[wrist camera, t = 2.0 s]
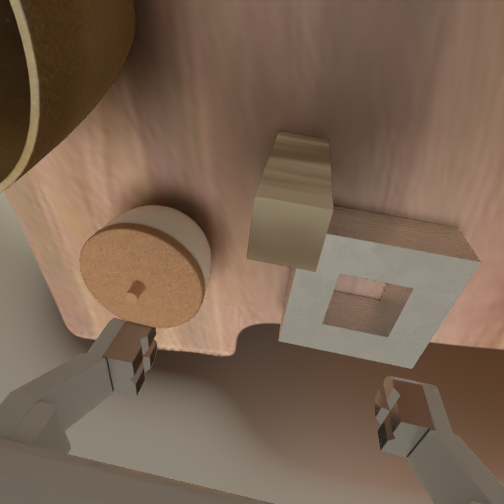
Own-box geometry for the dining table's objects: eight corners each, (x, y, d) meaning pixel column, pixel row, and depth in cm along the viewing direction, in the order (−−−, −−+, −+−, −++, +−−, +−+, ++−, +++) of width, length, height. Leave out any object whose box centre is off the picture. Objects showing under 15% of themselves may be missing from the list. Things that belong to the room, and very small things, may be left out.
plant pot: (-56, -140, 21) (-666, -392, 8) (175, -144, 19) (-125, -474, 6) (28, 113, 29) (-200, 190, 17) (193, 126, 28) (82, 223, 15)
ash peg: (278, 130, 27) (254, 196, 17) (328, 139, 27) (333, 210, 17) (271, 177, 29) (246, 258, 19) (317, 185, 29) (315, 271, 19)
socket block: (307, 200, 30) (305, 229, 26) (458, 227, 29) (481, 262, 25) (283, 305, 37) (278, 340, 33) (401, 329, 36) (411, 368, 32)
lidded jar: (224, 282, 37) (199, 351, 29) (132, 270, 38) (85, 333, 31) (223, 192, 31) (191, 250, 23) (112, 181, 32) (48, 232, 24)
